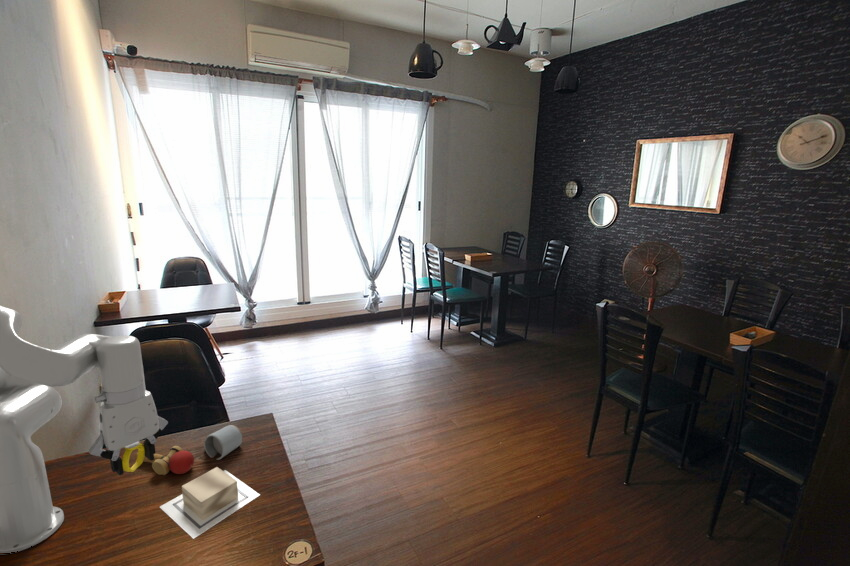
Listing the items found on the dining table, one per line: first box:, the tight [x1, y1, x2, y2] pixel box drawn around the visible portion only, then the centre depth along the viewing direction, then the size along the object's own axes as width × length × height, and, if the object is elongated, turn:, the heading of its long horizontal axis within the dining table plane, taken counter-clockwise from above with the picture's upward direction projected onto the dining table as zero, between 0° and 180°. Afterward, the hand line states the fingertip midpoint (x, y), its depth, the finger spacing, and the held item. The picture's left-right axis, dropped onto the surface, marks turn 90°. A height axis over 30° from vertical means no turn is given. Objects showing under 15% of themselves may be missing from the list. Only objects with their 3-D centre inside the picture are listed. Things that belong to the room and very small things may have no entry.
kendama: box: [134, 445, 195, 476], centre depth 115 cm, size 8×6×18 cm
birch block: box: [181, 466, 238, 520], centre depth 103 cm, size 9×9×5 cm
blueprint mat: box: [159, 469, 261, 540], centre depth 104 cm, size 17×16×1 cm
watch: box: [121, 441, 145, 473], centre depth 93 cm, size 6×3×6 cm, turn 3°
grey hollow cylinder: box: [203, 424, 244, 461], centre depth 123 cm, size 11×8×8 cm
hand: (134, 464), depth 94 cm, fingers closed on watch, 5 cm apart
